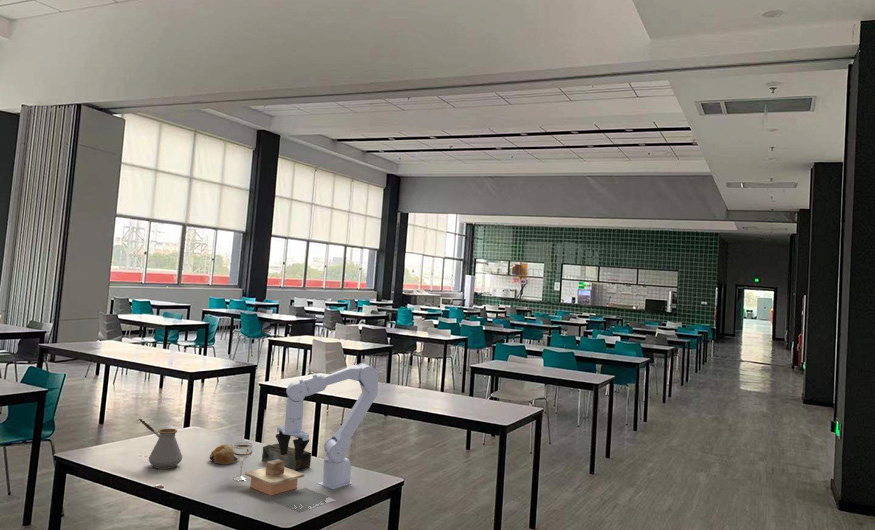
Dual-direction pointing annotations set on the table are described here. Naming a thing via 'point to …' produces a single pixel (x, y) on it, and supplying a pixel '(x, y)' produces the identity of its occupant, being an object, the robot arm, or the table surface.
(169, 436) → the coffee pot
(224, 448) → the bread roll
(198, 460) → the table surface
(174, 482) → the table surface
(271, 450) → the beverage carton
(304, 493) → the mat
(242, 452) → the wineglass
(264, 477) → the lid
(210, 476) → the table surface
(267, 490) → the orange open box
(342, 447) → the robot arm
